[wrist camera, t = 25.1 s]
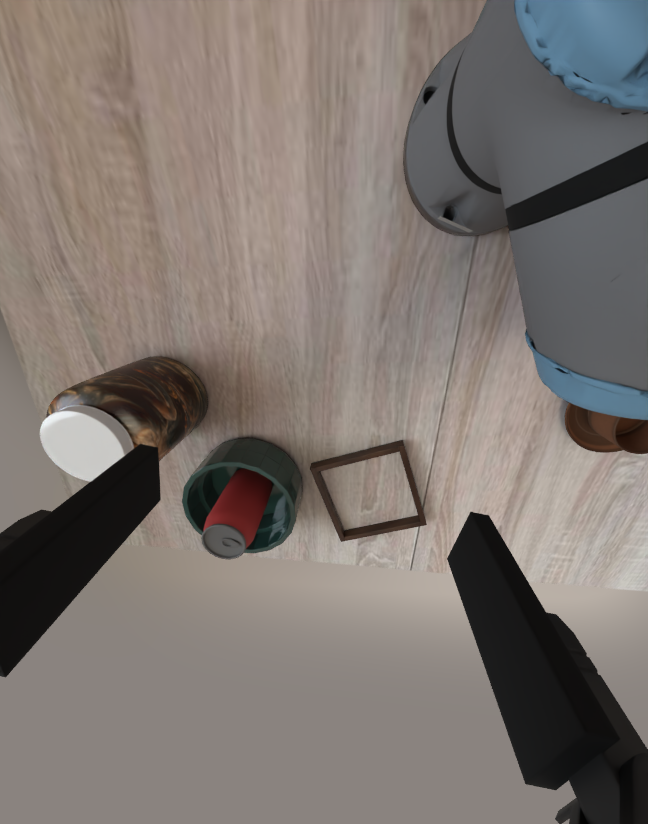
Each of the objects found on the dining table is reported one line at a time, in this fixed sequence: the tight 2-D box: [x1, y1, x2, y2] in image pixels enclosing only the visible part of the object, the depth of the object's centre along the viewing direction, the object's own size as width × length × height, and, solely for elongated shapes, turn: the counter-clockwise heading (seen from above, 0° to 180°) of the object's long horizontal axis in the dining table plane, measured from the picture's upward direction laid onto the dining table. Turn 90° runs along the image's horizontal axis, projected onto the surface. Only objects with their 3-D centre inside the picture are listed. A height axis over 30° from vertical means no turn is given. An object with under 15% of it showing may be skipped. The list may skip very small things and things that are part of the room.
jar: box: [40, 357, 208, 482], centre depth 36 cm, size 12×12×15 cm
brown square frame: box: [310, 440, 427, 542], centre depth 46 cm, size 14×15×2 cm
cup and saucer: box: [565, 403, 648, 454], centre depth 36 cm, size 12×12×6 cm
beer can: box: [201, 468, 272, 559], centre depth 42 cm, size 7×7×12 cm
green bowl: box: [182, 438, 302, 553], centre depth 45 cm, size 16×16×7 cm
